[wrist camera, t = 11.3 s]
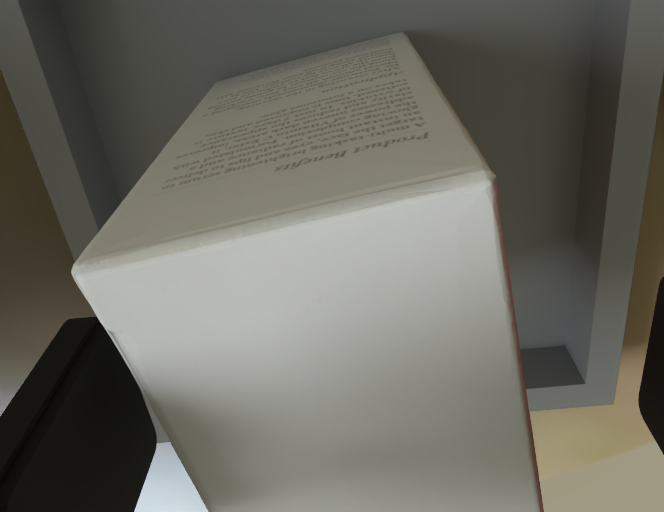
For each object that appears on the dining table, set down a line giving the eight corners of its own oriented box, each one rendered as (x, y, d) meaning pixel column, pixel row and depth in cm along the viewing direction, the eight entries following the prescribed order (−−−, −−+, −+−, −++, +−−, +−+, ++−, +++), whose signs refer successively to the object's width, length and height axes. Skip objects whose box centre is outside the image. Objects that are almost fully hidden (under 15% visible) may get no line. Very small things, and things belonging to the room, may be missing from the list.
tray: (644, -171, 14) (702, -188, 12) (585, 354, 22) (613, 404, 20) (1, -80, 15) (-57, -79, 13) (163, 392, 23) (144, 443, 21)
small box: (454, 272, 20) (560, 582, 11) (291, 308, 20) (257, 626, 11) (408, 22, 16) (510, 166, 7) (209, 76, 17) (56, 273, 7)
